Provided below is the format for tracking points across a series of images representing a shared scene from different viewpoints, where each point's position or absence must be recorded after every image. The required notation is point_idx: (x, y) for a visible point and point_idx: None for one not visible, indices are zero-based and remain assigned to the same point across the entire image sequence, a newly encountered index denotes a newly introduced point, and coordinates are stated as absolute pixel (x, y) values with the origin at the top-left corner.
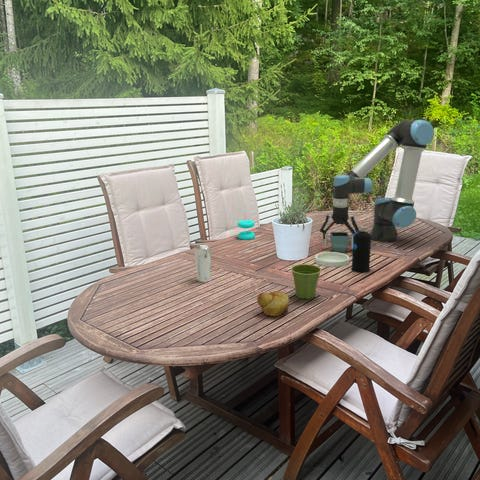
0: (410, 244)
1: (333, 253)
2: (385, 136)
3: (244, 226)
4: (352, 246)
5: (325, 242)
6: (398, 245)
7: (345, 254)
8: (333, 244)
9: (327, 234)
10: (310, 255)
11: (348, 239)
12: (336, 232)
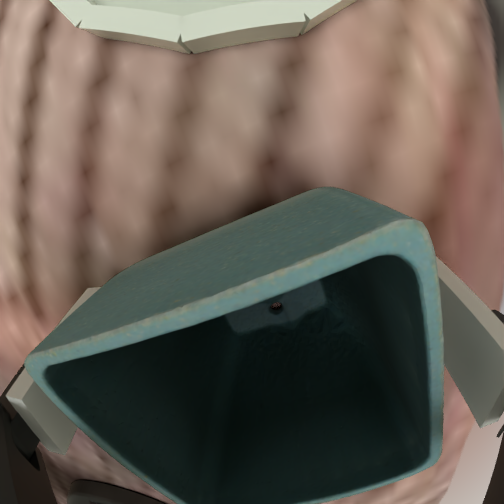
0: None
1: (246, 7)
2: None
3: None
4: (81, 300)
5: (452, 279)
6: None
7: (78, 17)
8: (321, 191)
9: (474, 401)
10: (479, 18)
11: (58, 327)
12: (344, 491)
